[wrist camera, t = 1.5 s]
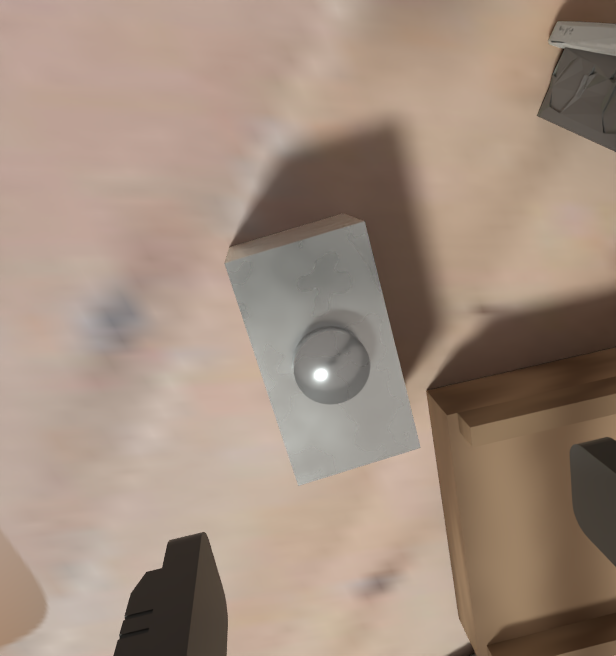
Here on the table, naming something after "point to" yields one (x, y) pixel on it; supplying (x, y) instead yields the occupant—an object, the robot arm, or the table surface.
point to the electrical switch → (584, 81)
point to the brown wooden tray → (525, 507)
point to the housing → (324, 345)
